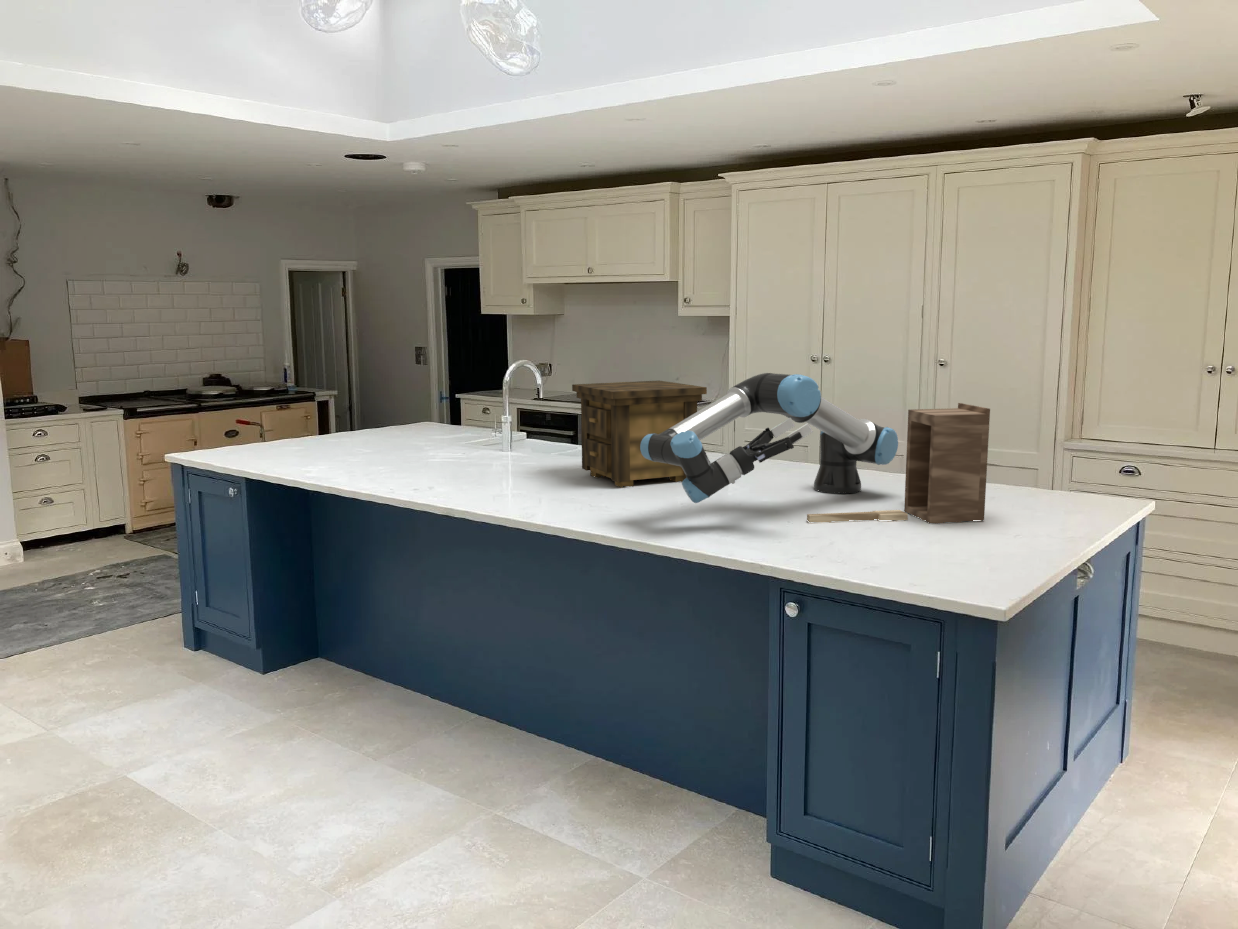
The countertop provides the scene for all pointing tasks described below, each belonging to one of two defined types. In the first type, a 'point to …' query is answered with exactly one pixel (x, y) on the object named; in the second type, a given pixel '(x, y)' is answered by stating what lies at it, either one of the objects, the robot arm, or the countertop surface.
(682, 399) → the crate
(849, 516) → the beige long flat part
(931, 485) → the walnut shelf
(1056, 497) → the countertop surface
